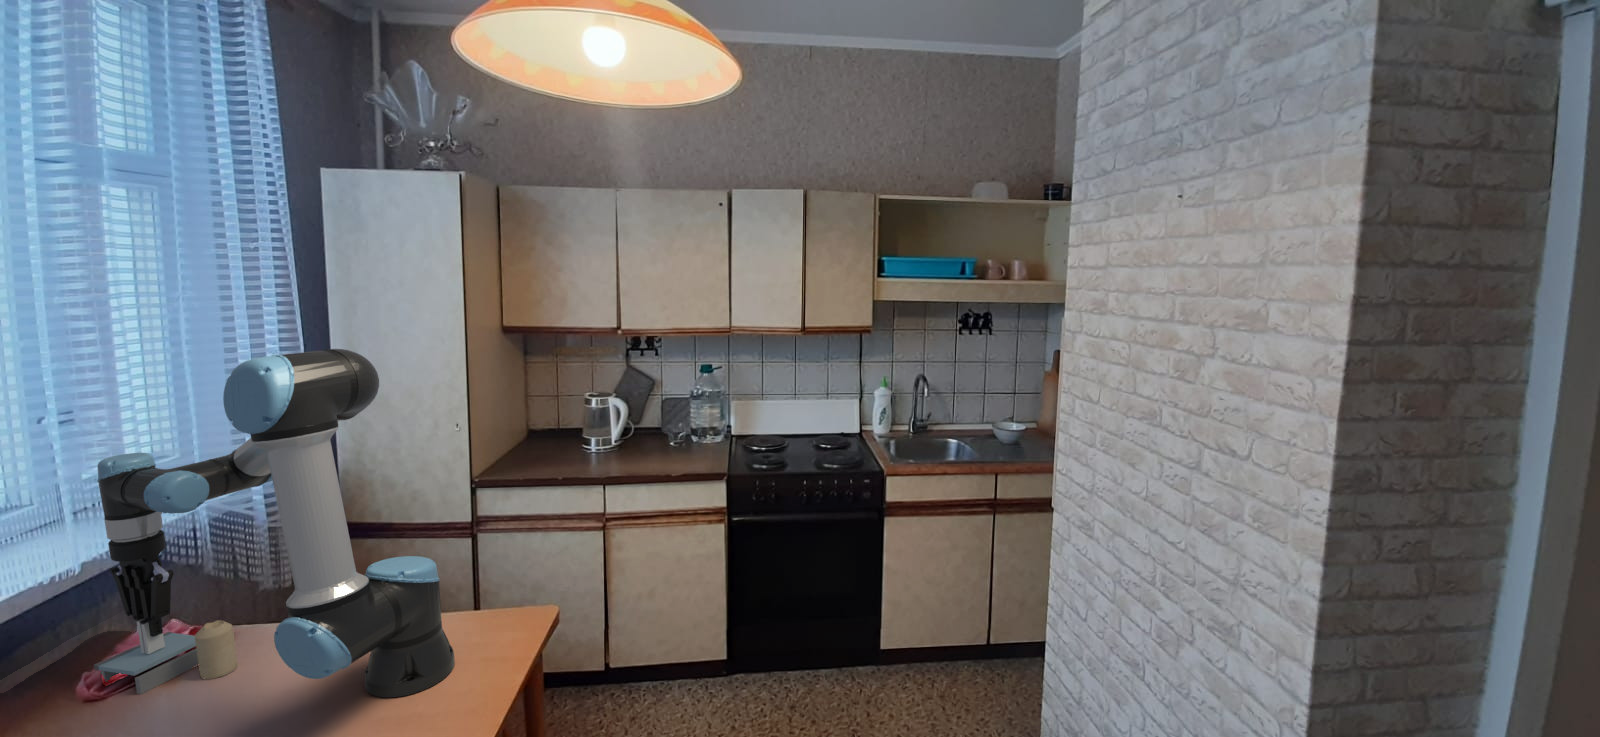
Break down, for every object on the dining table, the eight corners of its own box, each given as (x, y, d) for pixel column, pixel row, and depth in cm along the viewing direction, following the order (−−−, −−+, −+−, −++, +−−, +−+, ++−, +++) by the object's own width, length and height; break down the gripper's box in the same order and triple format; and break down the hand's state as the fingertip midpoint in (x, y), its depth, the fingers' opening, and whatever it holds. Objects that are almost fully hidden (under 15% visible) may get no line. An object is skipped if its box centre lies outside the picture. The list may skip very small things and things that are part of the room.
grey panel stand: (212, 657, 133) (210, 643, 132) (140, 694, 121) (138, 678, 121) (176, 650, 135) (174, 636, 135) (102, 685, 124) (100, 670, 123)
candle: (215, 681, 125) (209, 633, 124) (192, 677, 126) (186, 629, 125) (244, 665, 131) (239, 618, 129) (222, 661, 132) (216, 615, 130)
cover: (206, 641, 133) (206, 636, 132) (134, 676, 121) (133, 671, 121) (168, 636, 135) (167, 631, 135) (94, 669, 124) (93, 664, 124)
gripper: (185, 530, 126) (200, 644, 130) (134, 524, 130) (151, 634, 133) (138, 546, 119) (155, 665, 123) (85, 538, 123) (104, 655, 126)
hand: (153, 649), depth 128 cm, fingers closed
